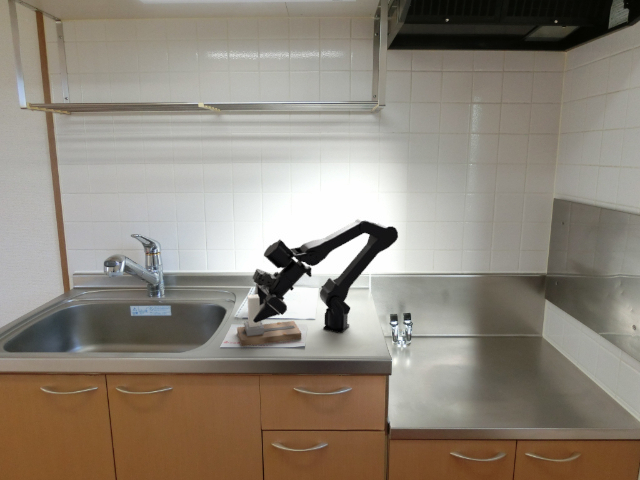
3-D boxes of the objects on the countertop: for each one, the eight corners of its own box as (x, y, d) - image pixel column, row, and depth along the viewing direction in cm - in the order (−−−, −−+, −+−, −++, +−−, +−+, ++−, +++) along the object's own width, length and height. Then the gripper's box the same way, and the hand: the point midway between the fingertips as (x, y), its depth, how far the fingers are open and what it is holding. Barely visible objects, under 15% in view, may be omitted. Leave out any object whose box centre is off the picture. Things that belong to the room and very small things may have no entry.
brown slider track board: (293, 326, 142) (293, 320, 141) (301, 338, 133) (301, 332, 133) (237, 333, 136) (237, 326, 136) (241, 346, 128) (241, 339, 128)
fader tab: (260, 325, 137) (260, 292, 134) (264, 334, 131) (263, 299, 128) (244, 327, 135) (243, 293, 132) (247, 336, 129) (246, 300, 127)
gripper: (263, 252, 138) (228, 288, 137) (275, 269, 121) (235, 311, 120) (287, 274, 142) (253, 310, 141) (303, 294, 125) (264, 334, 124)
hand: (251, 315), depth 132 cm, fingers open, 9 cm apart
